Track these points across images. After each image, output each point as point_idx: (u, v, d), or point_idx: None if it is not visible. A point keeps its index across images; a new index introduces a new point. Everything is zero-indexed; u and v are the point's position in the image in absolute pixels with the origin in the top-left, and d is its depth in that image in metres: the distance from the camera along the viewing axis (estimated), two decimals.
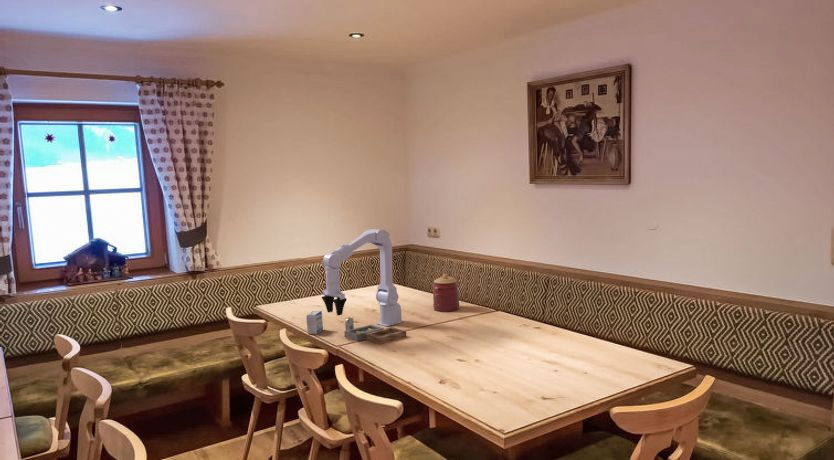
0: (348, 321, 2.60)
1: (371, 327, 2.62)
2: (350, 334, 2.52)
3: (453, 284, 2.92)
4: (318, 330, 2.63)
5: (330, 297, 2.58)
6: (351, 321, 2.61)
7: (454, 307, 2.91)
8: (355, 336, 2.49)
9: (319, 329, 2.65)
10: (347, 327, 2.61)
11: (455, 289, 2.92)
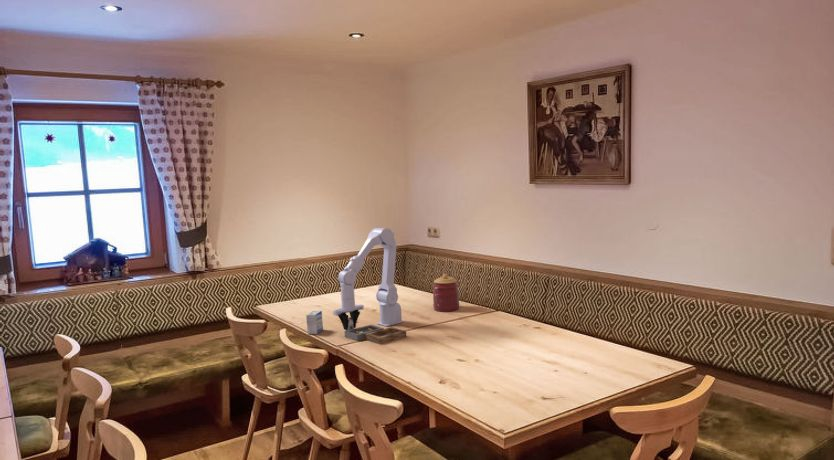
0: (348, 321, 2.60)
1: (371, 327, 2.62)
2: (350, 334, 2.52)
3: (453, 284, 2.92)
4: (318, 330, 2.63)
5: (353, 313, 2.62)
6: (351, 321, 2.61)
7: (454, 307, 2.91)
8: (355, 336, 2.49)
9: (319, 329, 2.65)
10: None
11: (455, 289, 2.92)
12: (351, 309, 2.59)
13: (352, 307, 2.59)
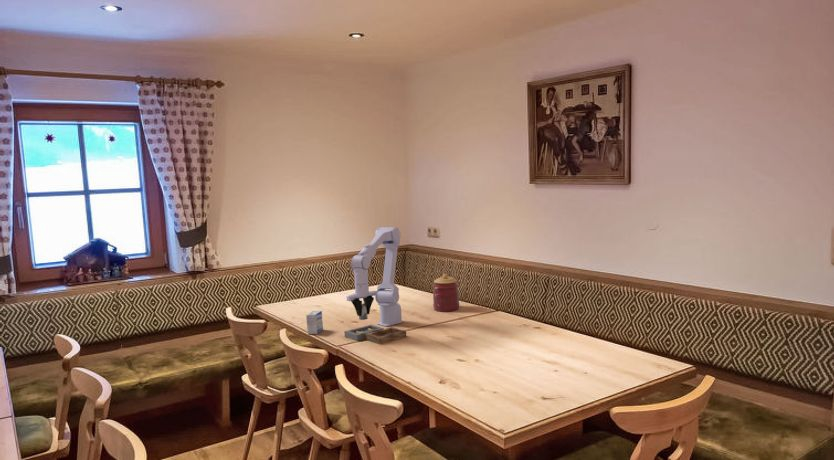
0: (361, 307, 2.54)
1: (371, 327, 2.62)
2: (350, 334, 2.52)
3: (453, 284, 2.92)
4: (318, 330, 2.63)
5: (367, 299, 2.56)
6: (365, 307, 2.54)
7: (454, 307, 2.91)
8: (355, 336, 2.49)
9: (319, 329, 2.65)
10: (361, 313, 2.54)
11: (455, 289, 2.92)
12: (365, 295, 2.52)
13: (366, 293, 2.53)
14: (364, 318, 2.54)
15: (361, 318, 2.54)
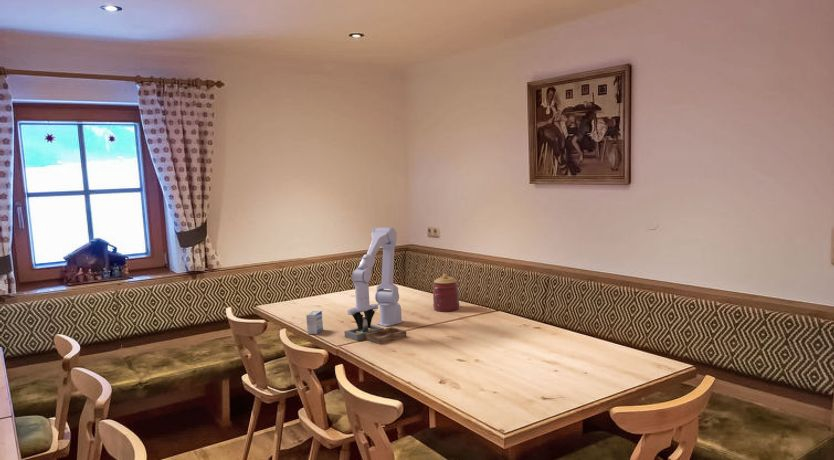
0: (362, 321, 2.54)
1: (371, 327, 2.62)
2: (350, 334, 2.52)
3: (453, 284, 2.92)
4: (318, 330, 2.63)
5: (367, 313, 2.56)
6: (365, 321, 2.55)
7: (454, 307, 2.91)
8: (355, 336, 2.49)
9: (319, 329, 2.65)
10: None
11: (455, 289, 2.92)
12: (366, 308, 2.53)
13: (367, 306, 2.53)
14: None
15: None
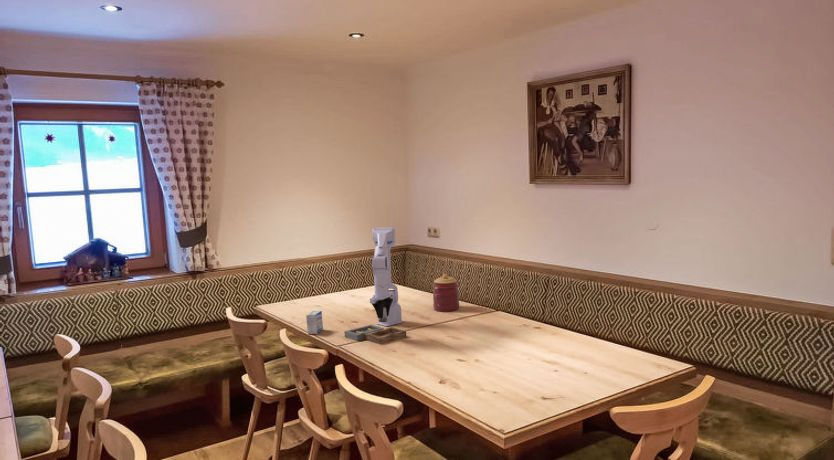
0: None
1: (371, 327, 2.62)
2: (350, 334, 2.52)
3: (453, 284, 2.92)
4: (318, 330, 2.63)
5: (386, 301, 2.51)
6: (385, 309, 2.49)
7: (454, 307, 2.91)
8: (355, 336, 2.49)
9: (319, 329, 2.65)
10: None
11: (455, 289, 2.92)
12: (387, 296, 2.47)
13: (387, 294, 2.48)
14: (385, 320, 2.49)
15: (382, 320, 2.49)
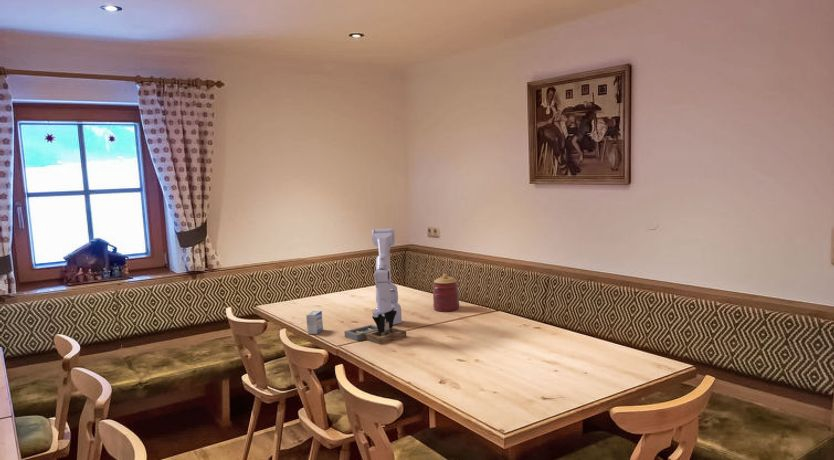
0: (385, 324, 2.48)
1: (371, 327, 2.62)
2: (350, 334, 2.52)
3: (453, 284, 2.92)
4: (318, 330, 2.63)
5: (389, 313, 2.52)
6: (388, 324, 2.49)
7: (454, 307, 2.91)
8: (355, 336, 2.49)
9: (319, 329, 2.65)
10: (384, 331, 2.49)
11: (455, 289, 2.92)
12: (389, 309, 2.48)
13: (390, 307, 2.48)
14: None
15: None
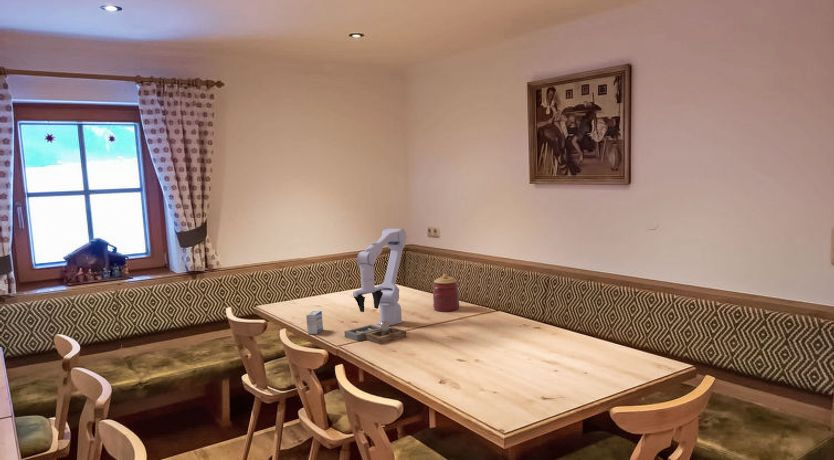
0: (385, 324, 2.48)
1: (371, 327, 2.62)
2: (350, 334, 2.52)
3: (453, 284, 2.92)
4: (318, 330, 2.63)
5: (376, 294, 2.61)
6: (388, 324, 2.49)
7: (454, 307, 2.91)
8: (355, 336, 2.49)
9: (319, 329, 2.65)
10: (384, 331, 2.49)
11: (455, 289, 2.92)
12: (371, 290, 2.56)
13: (372, 288, 2.57)
14: None
15: None
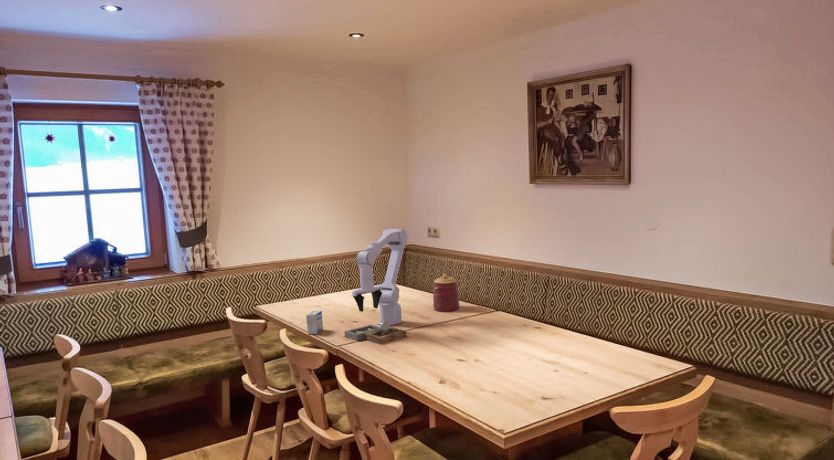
0: (385, 324, 2.48)
1: (371, 327, 2.62)
2: (350, 334, 2.52)
3: (453, 284, 2.92)
4: (318, 330, 2.63)
5: (375, 294, 2.62)
6: (388, 324, 2.49)
7: (454, 307, 2.91)
8: (355, 336, 2.49)
9: (319, 329, 2.65)
10: (384, 331, 2.49)
11: (455, 289, 2.92)
12: (370, 290, 2.57)
13: (371, 288, 2.57)
14: None
15: None
